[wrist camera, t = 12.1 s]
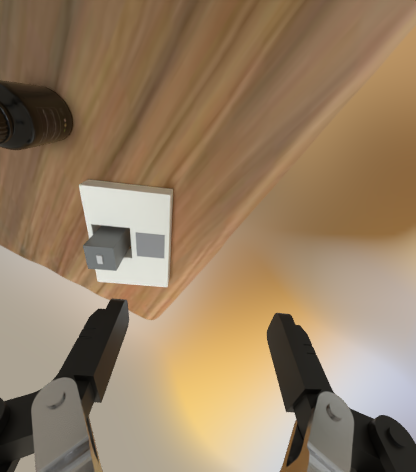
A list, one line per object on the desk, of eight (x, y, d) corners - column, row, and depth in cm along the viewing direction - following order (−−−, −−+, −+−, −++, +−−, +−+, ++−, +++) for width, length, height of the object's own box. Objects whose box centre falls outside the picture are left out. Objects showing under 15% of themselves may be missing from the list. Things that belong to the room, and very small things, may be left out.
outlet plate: (88, 179, 35) (78, 185, 32) (173, 189, 36) (170, 195, 33) (103, 271, 45) (97, 282, 42) (169, 277, 46) (167, 287, 43)
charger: (104, 221, 39) (82, 246, 32) (129, 224, 39) (112, 249, 32) (107, 242, 41) (87, 269, 34) (131, 244, 41) (115, 272, 34)
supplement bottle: (24, 131, 31) (-66, 141, 21) (20, 77, 28) (-90, 56, 17) (74, 148, 32) (12, 165, 22) (75, 98, 29) (3, 90, 19)
